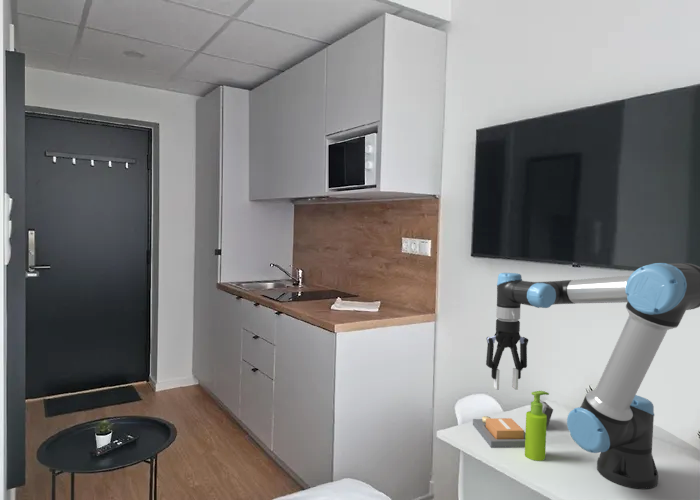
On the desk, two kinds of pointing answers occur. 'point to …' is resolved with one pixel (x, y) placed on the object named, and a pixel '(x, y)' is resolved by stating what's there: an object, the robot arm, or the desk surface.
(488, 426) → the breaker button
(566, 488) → the desk surface
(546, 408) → the electrical switch
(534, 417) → the soap dispenser
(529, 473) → the desk surface
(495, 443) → the grey tray
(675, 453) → the desk surface
